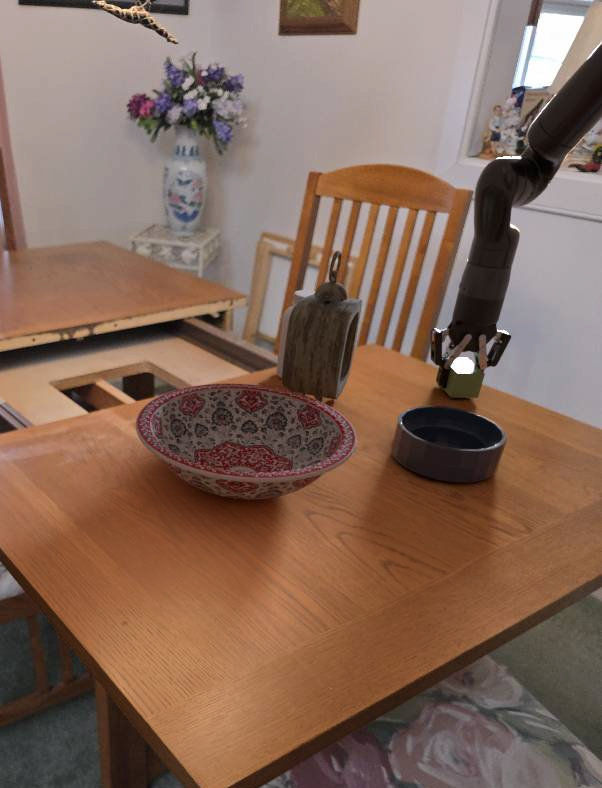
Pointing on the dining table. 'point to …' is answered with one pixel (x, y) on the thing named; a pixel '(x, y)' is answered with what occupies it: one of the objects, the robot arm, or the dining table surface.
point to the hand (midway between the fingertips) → (457, 386)
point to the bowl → (448, 443)
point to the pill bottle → (296, 298)
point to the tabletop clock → (321, 340)
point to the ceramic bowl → (245, 438)
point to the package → (464, 379)
